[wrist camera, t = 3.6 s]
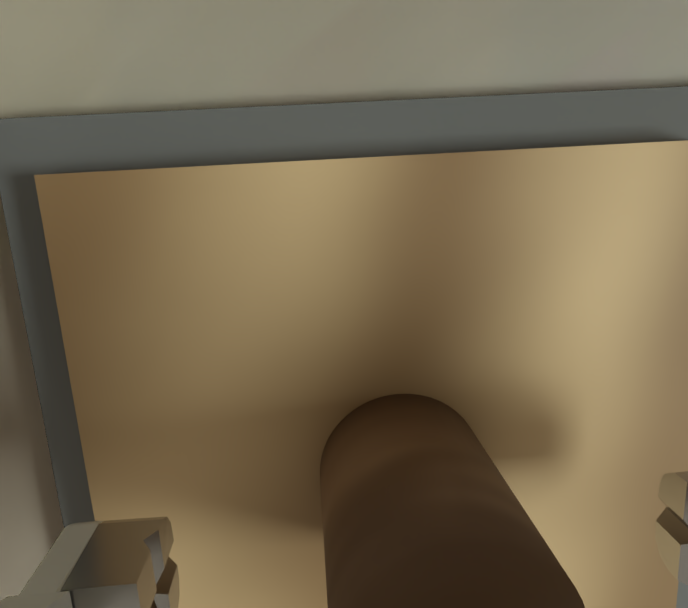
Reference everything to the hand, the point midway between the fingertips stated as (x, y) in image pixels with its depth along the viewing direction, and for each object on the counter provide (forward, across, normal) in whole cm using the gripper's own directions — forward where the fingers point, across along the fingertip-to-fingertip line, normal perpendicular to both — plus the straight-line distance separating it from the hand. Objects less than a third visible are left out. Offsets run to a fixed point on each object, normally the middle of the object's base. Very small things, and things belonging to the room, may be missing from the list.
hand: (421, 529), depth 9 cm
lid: (+3, 0, 0) cm, 3 cm away
